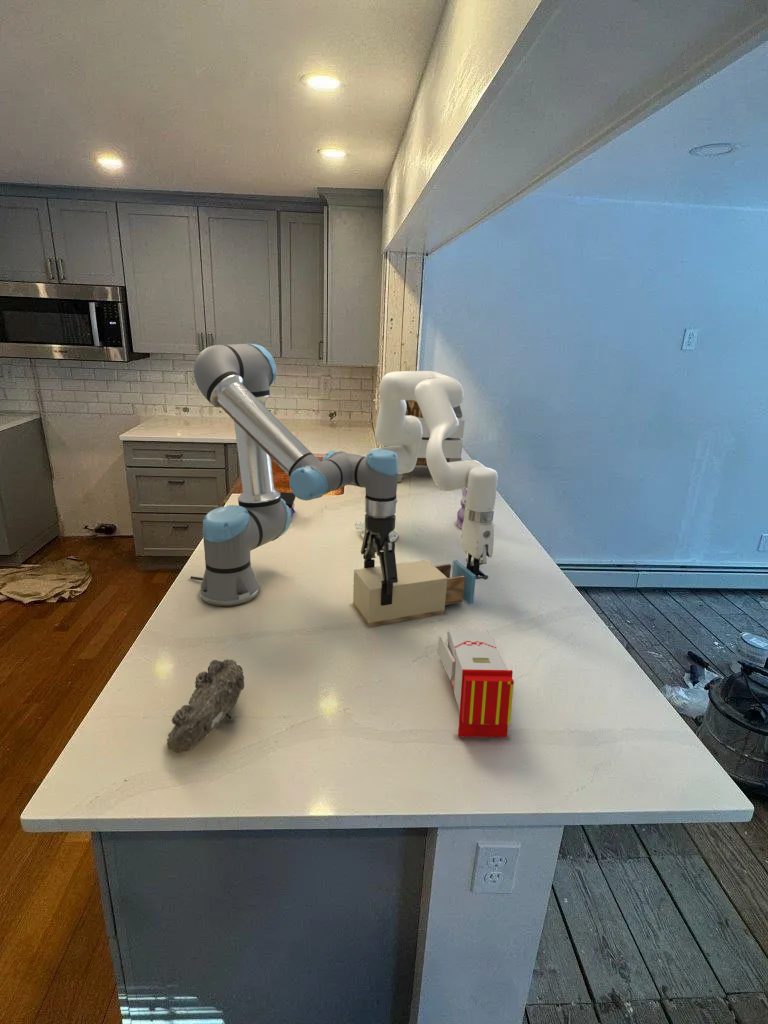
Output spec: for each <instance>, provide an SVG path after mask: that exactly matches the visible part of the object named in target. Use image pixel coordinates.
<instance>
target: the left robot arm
mask: <svg viewBox="0 0 768 1024" xmlns="http://www.w3.org/2000/svg"><path fill="white" fill-rule="evenodd" d="M277 373H278V372H277V365H276V361H275V359H274V357H273V355H272V354H271V352H270V351H268V350H267V348H265V347H264V346H262V345H260V344H257V343H246V342H244V343H235V344H234V343H233V344H214V345H210V346H207V347H206V348H204V349H203V350H202V351H200V353H199V354H198V355H197V357H196V359H195V361H194V365H193V378H194V381H195V384H196V386H197V388H198V390H199V392H200V393H201V394H202V396H203V397H204V398H205V399H206V400H207V401H208V402H209V403H210V404H211V405H212V406H213V407H214V408H221V410H222V411H224V412H225V413H226V414H227V415H228V416H229V418H231V419H232V420H233V423H234V432H235V439H236V448H237V456H238V464H239V472H240V481H241V488H242V492H241V493H240V495H238V497H237V502H238V505H236V504H235V505H233V504H231V505H226V506H219V507H216V508H214V509H212V510H210V511H209V512H207V513H206V515H204V518H203V519H202V530H201V532H202V538H203V539H202V540H203V549H204V563H205V565H204V566H205V570H204V573H203V577H199V576H190V579H191V580H196V581H201V583H200V589H199V593H200V595H199V596H200V599H201V600H202V601H203V602H204V603H206V604H208V605H211V606H215V607H234V606H239V605H243V604H246V603H248V602H251V601H252V600H254V599H255V598H256V597H257V596H258V594H259V582H258V580H257V577H256V575H255V572H254V570H253V568H252V563H251V551H253V550H255V549H257V548H259V547H261V546H263V545H265V544H268V543H270V542H273V541H275V540H277V539H279V538H280V537H282V536H283V535H284V534H285V533H287V531H288V530H289V528H290V525H291V523H292V517H291V513H290V509H289V507H288V506H287V505H286V502H285V501H284V500H283V499H281V496H280V493H281V492H279V491H277V490H276V488H275V484H274V483H275V482H274V475H273V474H274V473H273V464H272V460H273V462H274V463H275V464H276V465H278V467H280V468H281V469H282V470H283V472H284V473H285V474H286V475H287V476H288V477H289V480H288V484H289V488H290V489H291V493H293V494H294V495H295V496H296V497H295V498H297V499H299V500H302V501H312V500H315V499H319V498H321V497H323V496H325V495H326V494H329V493H331V492H333V491H336V490H339V489H341V488H344V487H345V486H352V487H359V488H364V489H365V497H364V512H365V514H364V522H365V534H364V539H363V538H362V539H363V540H362V544H361V549H360V554H361V555H363V556H362V558H363V568H371V567H376V566H375V565H376V560H375V559H376V558H377V557H379V558H378V559H379V565H380V566H381V569H382V575H383V581H381V583H382V587H381V605H382V606H384V605H390V604H392V594H393V583H396V582H398V578H397V568H396V564H397V559H396V542H395V541H393V542H390V538H389V533H390V532H391V531H393V530H394V531H395V529H396V517H397V516H396V513H397V512H396V511H397V509H396V508H397V504H398V501H399V500H398V499H397V490H398V482H397V477H398V472H399V471H398V456H397V454H396V453H395V452H393V451H390V450H381V449H376V450H372V449H370V450H371V451H370V450H369V451H368V452H367V453H366V455H367V457H366V455H365V456H364V455H360V454H354V453H349V452H346V451H342V450H341V451H337V450H336V451H335V450H331V451H328V452H327V453H326V454H325V455H324V456H323V457H322V459H321V460H320V459H319V458H318V457H317V456H316V455H314V453H312V452H311V450H309V449H308V448H307V447H306V445H304V443H303V442H301V440H300V439H298V437H296V436H295V435H294V434H293V433H292V432H291V430H290V429H288V428H287V426H286V425H284V424H283V422H281V421H280V420H279V419H278V418H277V417H276V416H275V415H274V414H273V412H271V411H270V410H269V409H268V408H267V407H266V402H267V400H268V399H269V398H270V397H271V393H270V387H271V386H273V384H274V383H275V380H276V378H277ZM376 556H377V557H376Z"/></svg>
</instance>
